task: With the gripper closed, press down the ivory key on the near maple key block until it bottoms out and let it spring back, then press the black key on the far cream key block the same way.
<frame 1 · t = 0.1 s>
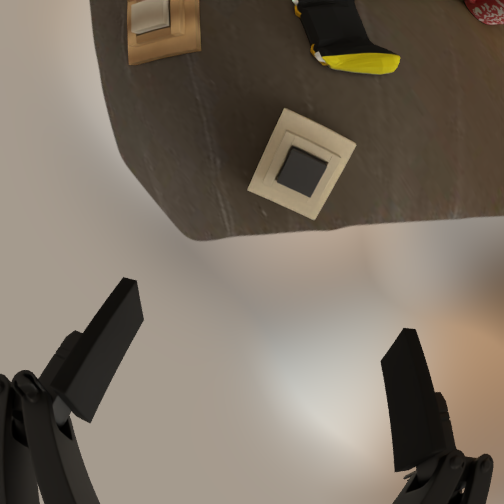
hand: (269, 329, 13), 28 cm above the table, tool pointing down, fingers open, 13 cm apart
mug: (470, 2, 16), on the table
gaming controller: (339, 27, 25), on the table
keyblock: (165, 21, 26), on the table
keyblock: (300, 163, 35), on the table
black key: (301, 171, 32), point 5 cm above the table, slide at 0.1 cm
ivory key: (150, 14, 22), point 5 cm above the table, slide at 0.1 cm
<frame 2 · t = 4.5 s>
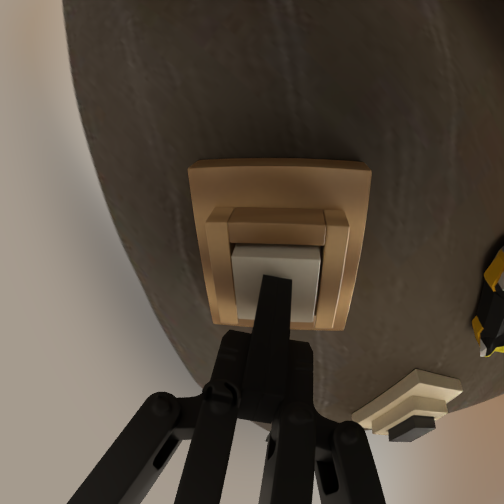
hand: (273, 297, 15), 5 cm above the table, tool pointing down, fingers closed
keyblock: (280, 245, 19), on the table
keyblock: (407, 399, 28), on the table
black key: (411, 428, 24), point 5 cm above the table, slide at 0.1 cm
ivory key: (276, 280, 16), point 4 cm above the table, slide at -0.7 cm, touching gripper
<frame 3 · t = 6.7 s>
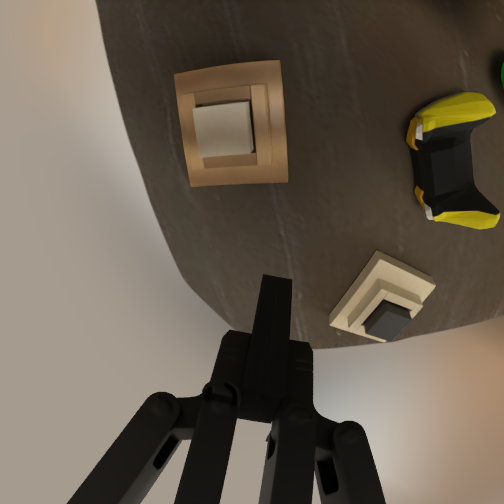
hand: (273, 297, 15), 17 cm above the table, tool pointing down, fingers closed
gaming controller: (445, 157, 23), on the table
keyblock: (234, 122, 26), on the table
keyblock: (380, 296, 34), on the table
black key: (387, 321, 31), point 5 cm above the table, slide at 0.1 cm
ivory key: (223, 128, 22), point 5 cm above the table, slide at 0.1 cm
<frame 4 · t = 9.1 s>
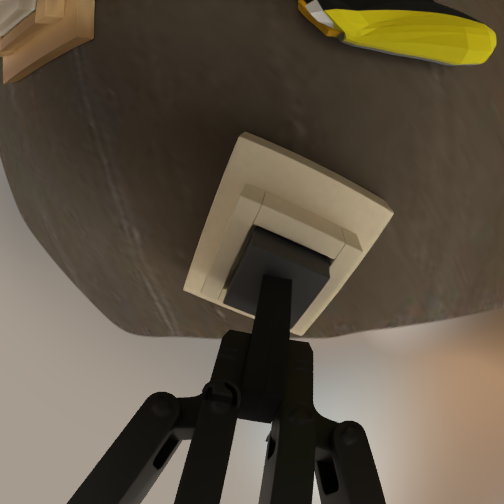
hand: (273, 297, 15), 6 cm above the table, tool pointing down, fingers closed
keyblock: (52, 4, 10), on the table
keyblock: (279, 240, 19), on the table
black key: (275, 280, 16), point 4 cm above the table, slide at 0.0 cm, touching gripper
ivory key: (13, 1, 6), point 5 cm above the table, slide at 0.1 cm
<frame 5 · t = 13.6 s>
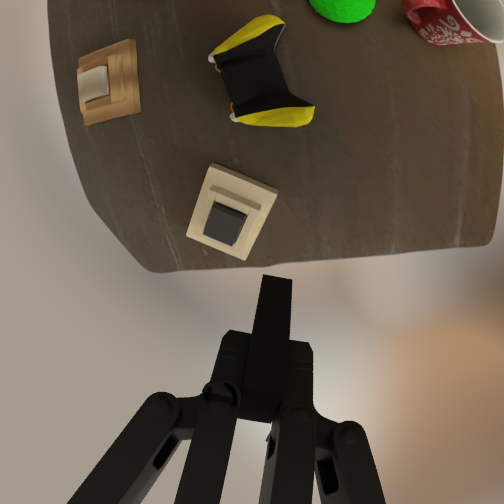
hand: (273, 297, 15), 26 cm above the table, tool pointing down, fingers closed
mug: (420, 21, 22), on the table
gaming controller: (262, 77, 31), on the table
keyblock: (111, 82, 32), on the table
ornament: (336, 4, 23), on the table
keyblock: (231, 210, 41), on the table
black key: (224, 224, 38), point 5 cm above the table, slide at 0.1 cm
ivory key: (93, 84, 28), point 5 cm above the table, slide at 0.1 cm
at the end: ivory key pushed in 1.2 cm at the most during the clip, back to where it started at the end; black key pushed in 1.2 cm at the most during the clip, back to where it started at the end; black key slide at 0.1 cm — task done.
